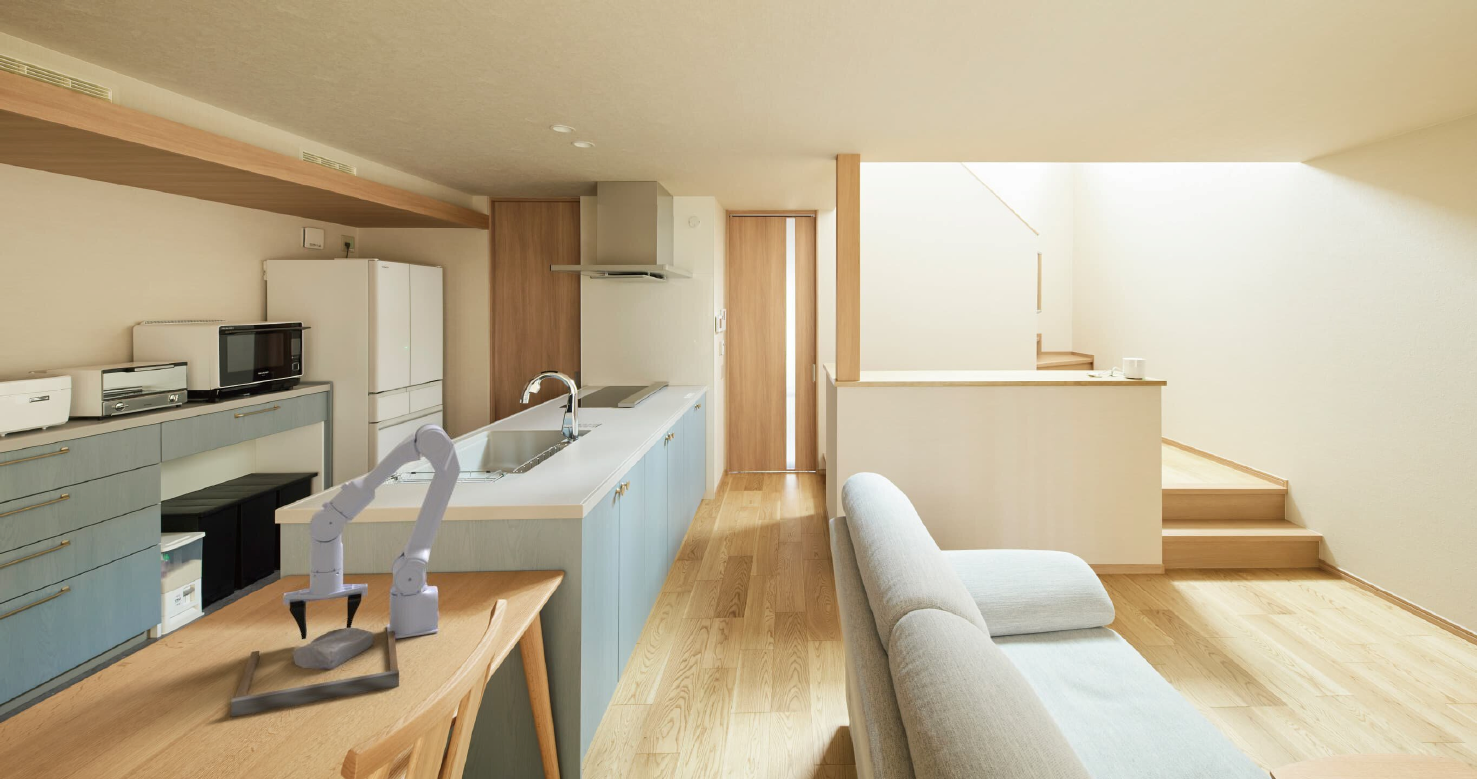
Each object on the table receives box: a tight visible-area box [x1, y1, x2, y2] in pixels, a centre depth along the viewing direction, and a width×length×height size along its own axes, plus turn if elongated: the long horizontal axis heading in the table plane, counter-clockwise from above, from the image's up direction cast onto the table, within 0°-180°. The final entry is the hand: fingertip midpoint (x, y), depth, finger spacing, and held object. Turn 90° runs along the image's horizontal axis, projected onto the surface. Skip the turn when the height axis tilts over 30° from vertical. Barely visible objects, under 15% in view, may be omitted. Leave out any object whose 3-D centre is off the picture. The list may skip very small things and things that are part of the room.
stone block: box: [293, 627, 374, 671], centre depth 133 cm, size 12×5×10 cm
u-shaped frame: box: [230, 631, 400, 718], centre depth 126 cm, size 24×23×2 cm
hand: (326, 634), depth 138 cm, fingers open, 7 cm apart
